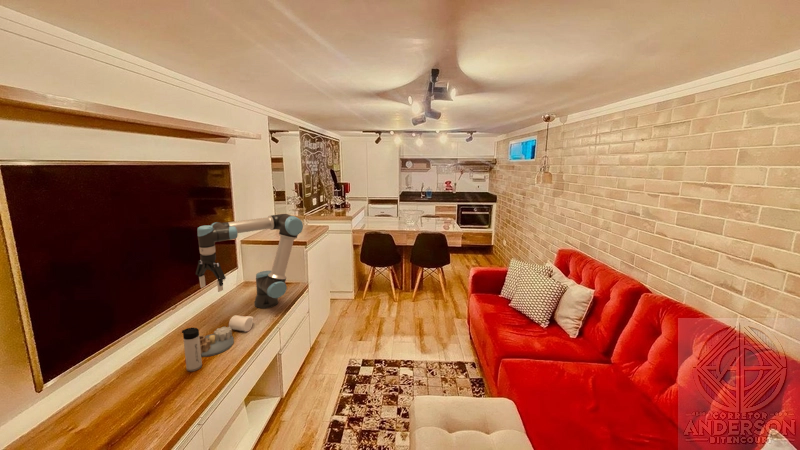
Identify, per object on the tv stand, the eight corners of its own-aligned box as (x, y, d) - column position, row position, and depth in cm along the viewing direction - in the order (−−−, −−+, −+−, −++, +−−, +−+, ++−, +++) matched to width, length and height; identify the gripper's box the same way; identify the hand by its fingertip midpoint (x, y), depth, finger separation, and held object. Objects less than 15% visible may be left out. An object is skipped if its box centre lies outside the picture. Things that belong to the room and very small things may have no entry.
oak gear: (203, 343, 171) (202, 332, 170) (214, 347, 168) (213, 336, 167) (187, 351, 163) (186, 339, 162) (199, 355, 160) (197, 344, 159)
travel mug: (187, 365, 155) (183, 327, 151) (203, 362, 158) (199, 325, 154) (184, 373, 150) (180, 334, 146) (200, 370, 152) (197, 331, 148)
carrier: (217, 331, 185) (216, 321, 184) (243, 340, 178) (242, 330, 177) (181, 350, 166) (180, 339, 165) (208, 360, 159) (207, 349, 158)
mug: (244, 334, 184) (243, 321, 182) (229, 331, 186) (228, 319, 184) (257, 324, 195) (256, 312, 194) (243, 321, 197) (242, 309, 196)
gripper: (185, 252, 179) (189, 287, 184) (218, 258, 171) (222, 295, 176) (197, 248, 186) (201, 282, 191) (230, 254, 178) (233, 290, 182)
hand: (211, 288), depth 183 cm, fingers open, 13 cm apart
